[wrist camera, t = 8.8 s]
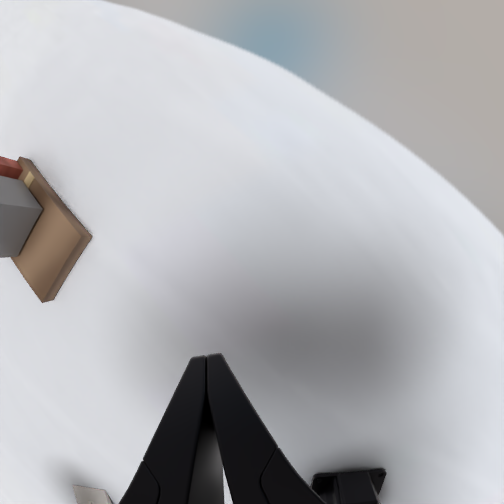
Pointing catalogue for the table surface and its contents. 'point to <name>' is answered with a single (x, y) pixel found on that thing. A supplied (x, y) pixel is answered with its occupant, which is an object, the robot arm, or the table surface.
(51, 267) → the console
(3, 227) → the gray cream rectangular block
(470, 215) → the table surface
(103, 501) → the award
